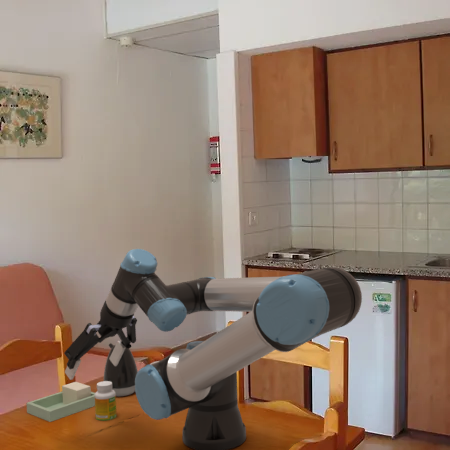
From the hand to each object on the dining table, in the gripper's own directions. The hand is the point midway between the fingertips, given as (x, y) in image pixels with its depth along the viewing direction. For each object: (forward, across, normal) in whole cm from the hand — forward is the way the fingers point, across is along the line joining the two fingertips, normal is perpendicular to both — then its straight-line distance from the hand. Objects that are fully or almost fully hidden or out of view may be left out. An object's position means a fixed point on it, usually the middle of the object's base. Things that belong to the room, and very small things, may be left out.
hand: (91, 368), depth 159 cm
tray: (+22, -2, -4) cm, 23 cm away
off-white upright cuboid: (+22, -7, -5) cm, 23 cm away
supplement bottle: (+14, -5, +7) cm, 17 cm away
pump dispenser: (+21, -20, -2) cm, 29 cm away
